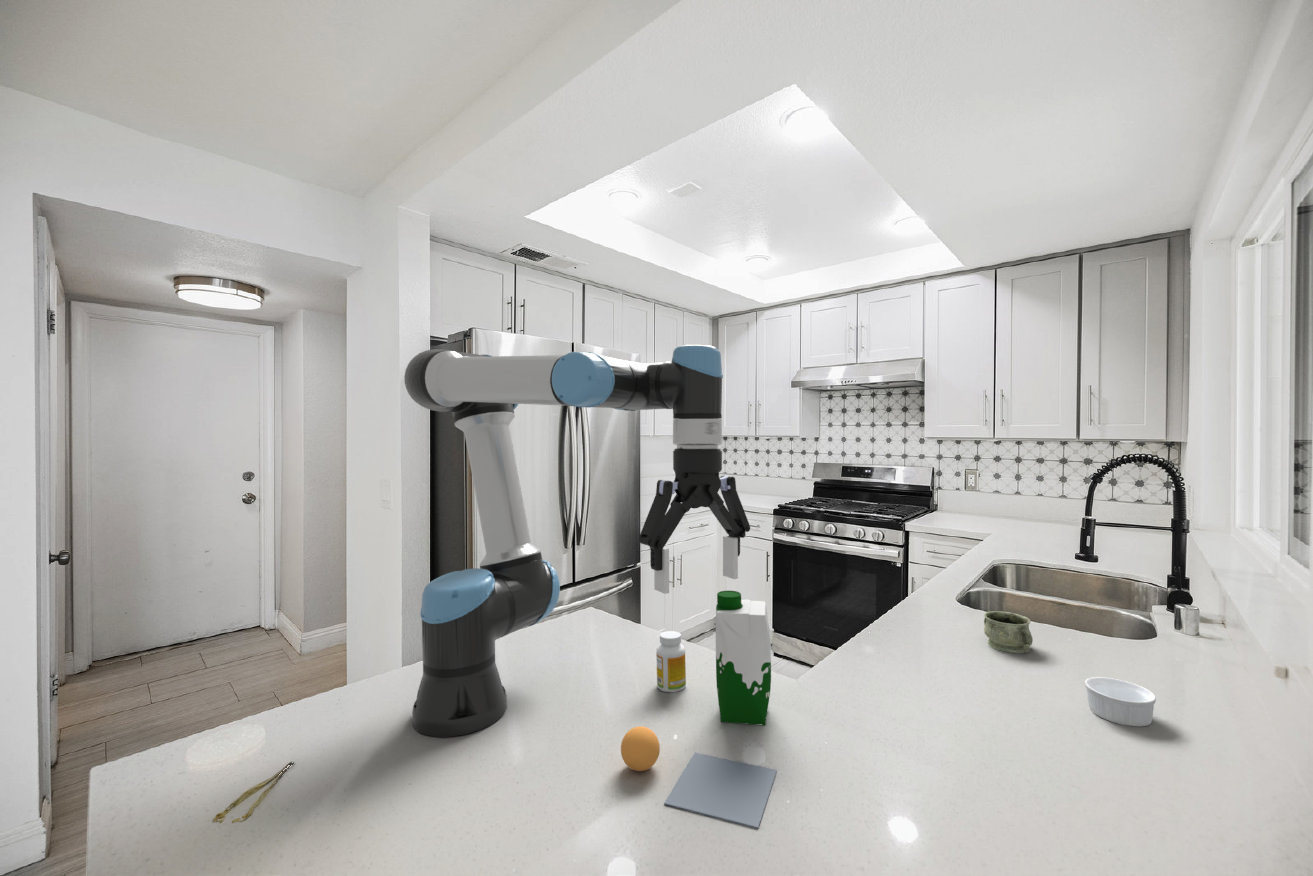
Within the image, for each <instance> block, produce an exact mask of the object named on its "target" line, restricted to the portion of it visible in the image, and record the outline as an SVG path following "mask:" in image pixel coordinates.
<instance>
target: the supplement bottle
mask: <svg viewBox="0 0 1313 876" xmlns="http://www.w3.org/2000/svg"><path fill="white" fill-rule="evenodd" d="M659 643H660V644H659V645H658V646H657V647H656V650H655V651H656V654H655V655H656V685H657V688H658V689H659V690H660V691H661V692H665V693H677V692H680V691H683V690H684V689H685V688H686V686H687V678H686V677H687V673H686V669H687V668H686V649H685V647H684V645H683V644H681V643H682V634H681V633H680V632H679V631H676V630H675V631H674V630H671V631H670V630H666V631H663V632H661V633H660V634H659Z"/></svg>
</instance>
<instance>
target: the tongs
mask: <svg viewBox="0 0 1313 876" xmlns="http://www.w3.org/2000/svg"><path fill="white" fill-rule="evenodd" d="M292 762H293V763H292ZM294 762H295V761H290V762H288V763H287V764H286V765H285V766H283V768H282V769H281V770H279V771H277V772H276V773H275V774H274V775H272V776H271V777H269V778H267V779H266V780H264V781H262V782H259V783H258V784H255V785H254V786H251V787H250V788H249V789H247V790H245V791H244V792H242V794H241V795H239V797H238V798H236V799H235V800H234V801H232V802H230V804H229V805H228V806H227V807H226V808H225V809H224V810H223V811H222V812H218V813H216V814H215V817H213V823H217V822H219V824H222V823H223V821H224V819H225V818H226V815H227V814H228V813H229V812H230V811H231V810H232V808H236V807H237V806H239V805H240V804H241V803H243V802H244V801H245V800H247V799H248V798H249V797H251V796H252V795H254V794H256V793H257V792H258V791H259V790H261V789H262V788H264V787H265V786H267V785H268V784H269V783H270V785H268V787H267V788H266V789H264V790H263V791H262V792H261V793H260V795H259V796H258V798H257V799H256V800H255V801H254V803H252V805H251V806H250V807H249V810H248V812H247V813H246V814H243V815H242V816H241V817H238V818H236V819H232V821H231V823H232V824H234V823H236V822H237V823H238V822H240V823H242V822H244V821H246V819H248V818H249V817H250V816H251V815H252V814H253V812H254V810H255V808H258V806H259V805H260V803H262V801H263V800H264V799H265V797H267V795H268V793H270V791H271V790H272V788H273V787H274V786H275V785H277V783H278V782H279V781H280V779H282V777H283V776H284V775H285V774H286V773H287V772H288V771H287V769H289V767H290V766H291V765H293V764H294ZM288 765H290V766H289V767H288V768H287V766H288ZM294 765H295V764H294ZM294 765H293V766H294ZM285 768H287V769H285ZM284 769H285V770H284ZM283 770H284V771H283ZM289 770H290V769H289ZM286 771H287V772H286ZM281 772H282V773H281ZM285 772H286V773H285ZM280 773H281V774H280ZM284 773H285V774H284ZM279 774H280V775H279ZM283 774H284V775H283ZM278 775H279V776H278ZM282 775H283V776H282ZM274 778H275V779H274ZM278 780H279V781H278ZM241 818H243V819H241Z"/></svg>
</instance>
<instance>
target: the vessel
mask: <svg viewBox="0 0 1313 876" xmlns="http://www.w3.org/2000/svg"><path fill="white" fill-rule="evenodd" d="M983 616H984V619H983V623H984V628H983V630H984V631H983V632H984V635H985V636H986V638H988V640H987V642H986V644H987V645H988V646H989V647H990V648H993V649H995V650H997V651H998V650H999V651H1003V652H1008V653H1015V654H1016V653H1026V652H1027V653H1028V652H1030V647H1031V646H1032V645H1033V636H1032V633H1031V630H1030V627H1029V626H1030V624H1031V619H1030V618H1028V617H1027V616H1024V615H1021V614H1019V613H1018V614H1017V613H1014V612H1009V611H997V610H996V611H986V612H985V613H984V614H983Z"/></svg>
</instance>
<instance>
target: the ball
mask: <svg viewBox="0 0 1313 876" xmlns="http://www.w3.org/2000/svg"><path fill="white" fill-rule="evenodd" d="M660 751H661V748H660V742H659V738H658V736H657V735H656V733H655V732H654V731H653V730H652V729H650V728H649V727H646V726H635V727H633V728H631V729H629V730H627V732H626V733H625V734H624V735H623V738H622V740H621V743H620V754H621V758H622V760H623V761H624V764H625V765H626V766H627V767H628V768H629V769H631V770H632V771H633V770H634V771H636V772H644V771H647V770H650V769H651V768H652V767H653V766H654V765H655V764H656V762H657V761H658V759H659V757H660Z"/></svg>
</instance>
